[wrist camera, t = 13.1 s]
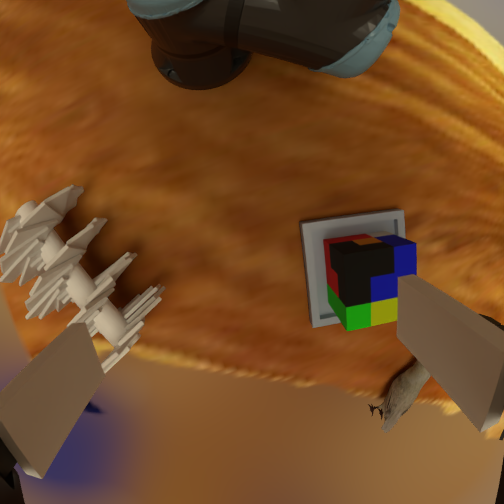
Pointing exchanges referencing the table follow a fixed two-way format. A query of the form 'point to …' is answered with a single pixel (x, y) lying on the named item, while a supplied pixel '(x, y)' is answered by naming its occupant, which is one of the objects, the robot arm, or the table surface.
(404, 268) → the puzzle toy
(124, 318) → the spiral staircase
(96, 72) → the table surface
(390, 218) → the tray
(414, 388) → the decorative bird
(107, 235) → the table surface
